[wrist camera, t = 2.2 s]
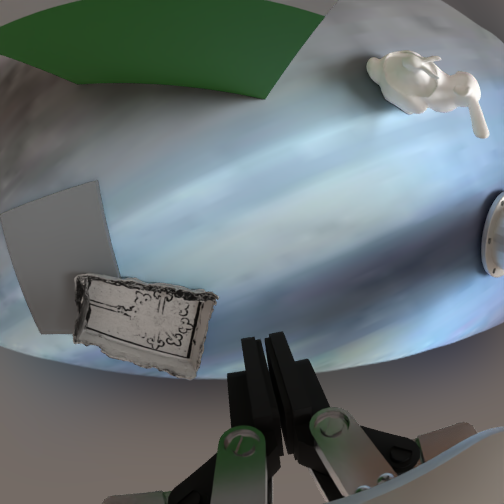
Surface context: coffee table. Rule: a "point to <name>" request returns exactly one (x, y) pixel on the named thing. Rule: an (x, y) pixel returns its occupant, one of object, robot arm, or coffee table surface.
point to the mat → (58, 251)
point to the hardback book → (162, 40)
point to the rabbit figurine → (426, 86)
